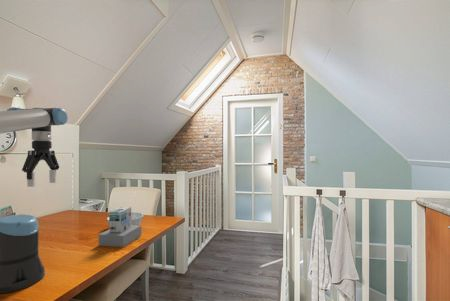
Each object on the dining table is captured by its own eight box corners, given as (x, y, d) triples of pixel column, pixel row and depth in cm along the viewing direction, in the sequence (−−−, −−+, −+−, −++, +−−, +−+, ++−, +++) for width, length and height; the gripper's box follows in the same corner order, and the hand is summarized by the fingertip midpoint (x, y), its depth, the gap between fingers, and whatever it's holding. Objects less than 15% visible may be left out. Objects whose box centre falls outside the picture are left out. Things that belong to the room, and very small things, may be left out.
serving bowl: (127, 234, 133) (127, 222, 133) (99, 231, 139) (98, 219, 140) (150, 223, 152) (150, 213, 152) (124, 221, 159) (124, 211, 159)
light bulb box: (121, 233, 118) (120, 211, 119) (108, 232, 119) (108, 211, 119) (132, 226, 129) (131, 206, 129) (120, 226, 130) (120, 206, 130)
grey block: (123, 248, 114) (123, 235, 114) (98, 246, 117) (98, 234, 117) (141, 236, 130) (141, 225, 130) (119, 235, 133) (118, 224, 133)
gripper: (28, 138, 101) (29, 188, 100) (66, 141, 126) (67, 181, 125) (10, 139, 100) (11, 188, 100) (52, 142, 125) (53, 181, 125)
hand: (42, 184), depth 113 cm, fingers open, 13 cm apart
